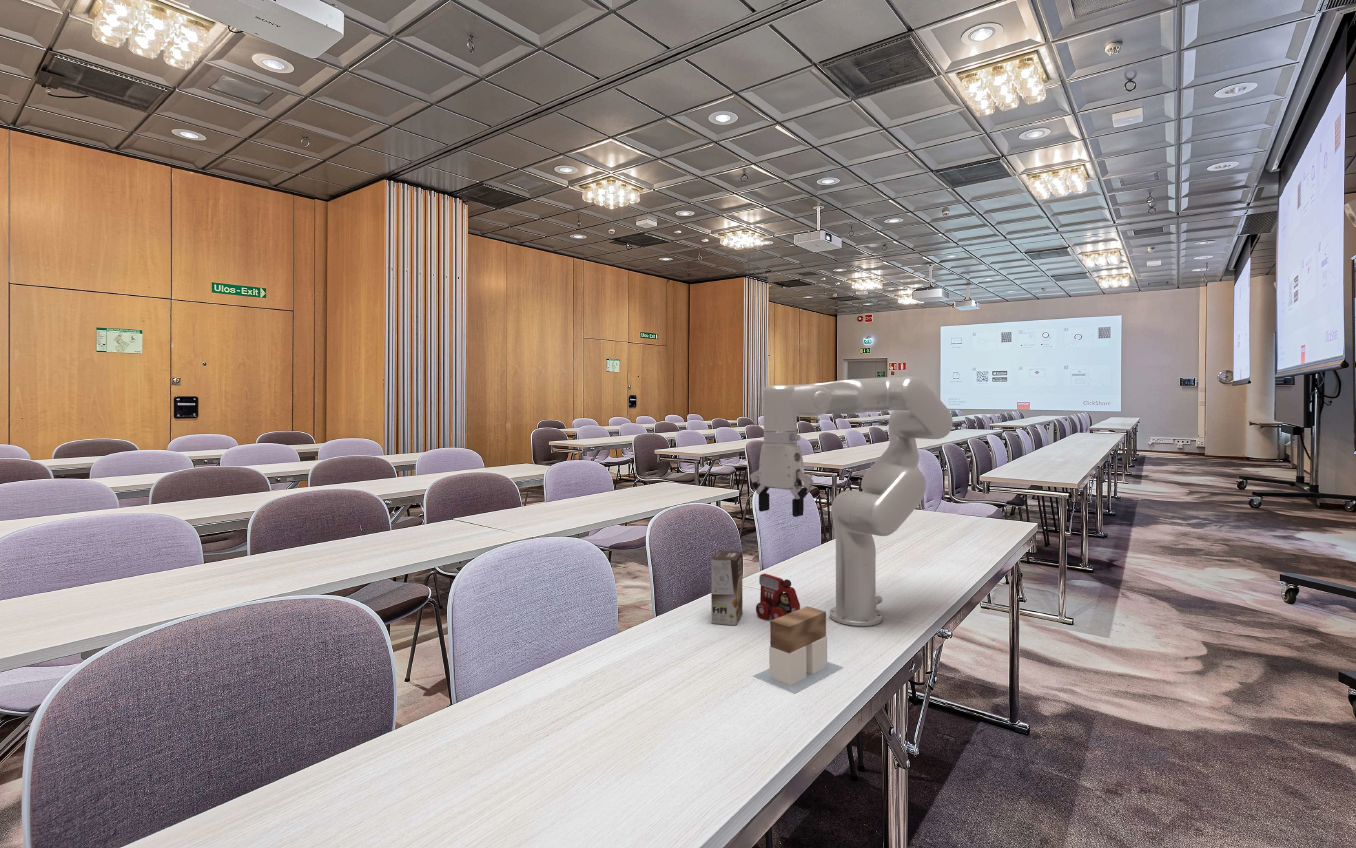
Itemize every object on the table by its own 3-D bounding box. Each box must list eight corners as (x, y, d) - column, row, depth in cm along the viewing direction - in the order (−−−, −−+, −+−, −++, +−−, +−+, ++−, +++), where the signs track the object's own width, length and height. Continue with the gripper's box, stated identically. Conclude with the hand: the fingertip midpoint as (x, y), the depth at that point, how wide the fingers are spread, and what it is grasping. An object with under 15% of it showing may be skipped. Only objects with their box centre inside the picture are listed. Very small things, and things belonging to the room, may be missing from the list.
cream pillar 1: (785, 669, 122) (785, 639, 122) (806, 677, 118) (806, 646, 118) (769, 677, 119) (769, 646, 118) (790, 685, 115) (790, 653, 115)
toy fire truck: (787, 629, 146) (787, 586, 146) (751, 615, 156) (750, 574, 156) (807, 622, 151) (807, 580, 150) (770, 609, 160) (770, 570, 160)
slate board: (802, 657, 130) (802, 652, 130) (843, 672, 123) (843, 667, 123) (752, 681, 119) (752, 676, 119) (795, 699, 112) (795, 693, 112)
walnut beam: (807, 630, 126) (807, 606, 126) (826, 636, 123) (825, 611, 123) (770, 646, 118) (770, 620, 118) (789, 653, 115) (789, 627, 115)
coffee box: (736, 626, 149) (736, 560, 148) (710, 624, 150) (710, 558, 150) (743, 613, 157) (742, 551, 157) (718, 611, 159) (718, 549, 159)
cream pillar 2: (806, 659, 127) (806, 630, 127) (827, 666, 123) (827, 636, 123) (791, 666, 123) (791, 636, 123) (812, 674, 120) (812, 643, 119)
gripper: (821, 439, 137) (821, 516, 138) (761, 437, 150) (761, 507, 151) (801, 441, 132) (801, 520, 133) (740, 438, 145) (741, 510, 146)
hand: (780, 513), depth 142 cm, fingers open, 9 cm apart
